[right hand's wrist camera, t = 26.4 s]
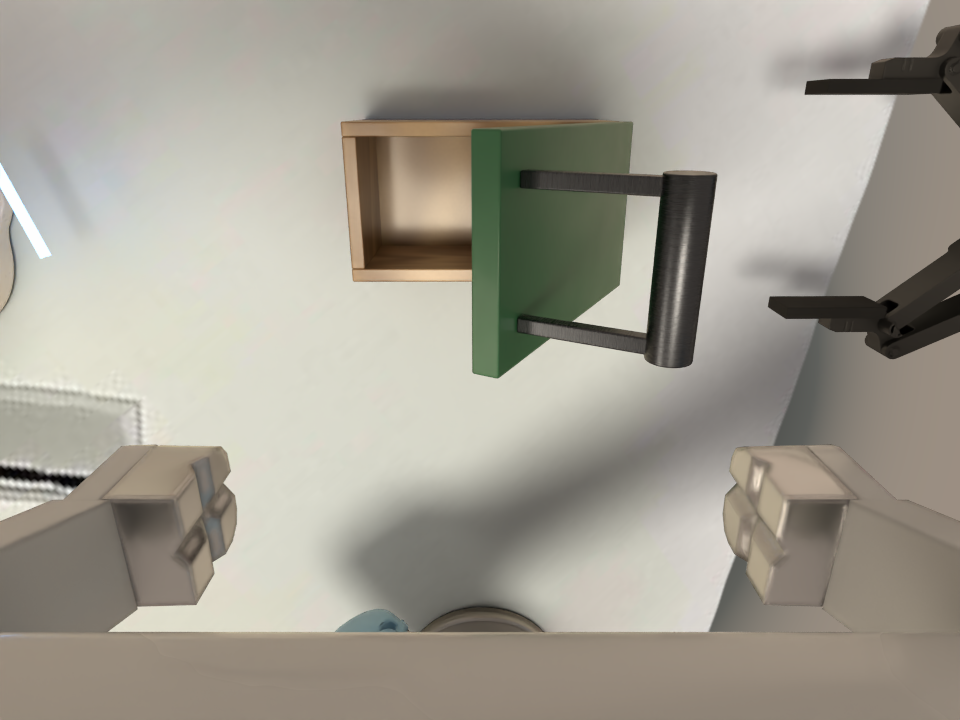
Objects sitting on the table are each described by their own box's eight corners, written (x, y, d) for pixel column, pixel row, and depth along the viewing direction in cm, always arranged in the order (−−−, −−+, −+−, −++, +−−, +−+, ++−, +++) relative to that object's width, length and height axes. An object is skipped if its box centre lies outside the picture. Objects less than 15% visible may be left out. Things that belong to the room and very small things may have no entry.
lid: (471, 373, 27) (676, 417, 23) (470, 128, 23) (712, 131, 20) (600, 283, 41) (741, 300, 37) (612, 121, 38) (769, 122, 34)
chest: (373, 254, 50) (352, 282, 42) (364, 119, 46) (340, 121, 38) (587, 254, 50) (608, 281, 42) (596, 119, 46) (620, 121, 38)
